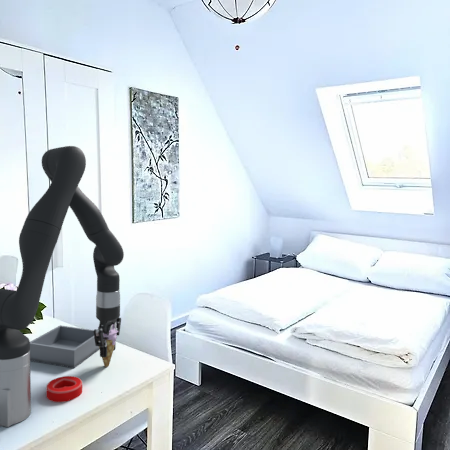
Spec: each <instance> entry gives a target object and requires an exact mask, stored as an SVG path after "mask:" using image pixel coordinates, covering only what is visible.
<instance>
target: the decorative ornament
mask: <svg viewBox="0 0 450 450" xmlns="http://www.w3.org/2000/svg"><path fill="white" fill-rule="evenodd" d="M45 388H46V392H45V393H46V399H48V401H50V402H54V403H65V402H71V401H73V400H75V399H77V398H79V397H80V396H81V395H82V393H83V380H82V379H81V378H80V377H77V376H71V375H64V376H60V377H57V378H56V377H55V378H54V379H52V380H51V381H49V382H48V383H47V384H46V387H45Z"/></svg>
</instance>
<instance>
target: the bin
mask: <svg viewBox="0 0 450 450" xmlns="http://www.w3.org/2000/svg"><path fill="white" fill-rule="evenodd" d="M94 330H95V329H90V328H89V329H88V328H83V327H82V328H80V327H73V326H67V325H61V324H60V325H58V326H56V327H54V328H53V329H51V330H48V331H47V332H46V333H43V334H42V335H39V336H37V337H36V338H34V339H33V340H29V341H30V362H34V363H35V362H36V363H41V364H47V365H54V366H59V367H63V368H64V367H66V368H71V369H75V368H76V367H79V366H80V365H81V364H82V363H84V362H85V361H86V360H87V359H89V358H90V357H92V356H93V355H94V354H96V353H97V352H98V351H100V349H99V346H96V345H95V339H94Z"/></svg>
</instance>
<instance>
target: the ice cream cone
mask: <svg viewBox="0 0 450 450" xmlns="http://www.w3.org/2000/svg"><path fill="white" fill-rule="evenodd" d="M98 328H99V326H98V327H97V329H98ZM117 332H119V331H116V330H115V328H114V327H113V324H112V330H111V332H110V334H109V335H107V334H103V338H104V337H109V339H108V340H107V357H105V358H104V357H101V359H102V362H103V365H104V367H106V368H107V367H109V366H110V363H111V359H112V357H113V354H114V351H115V350H114V345H115V341H116V340H117V339H116V333H117ZM98 342H99V341H98ZM104 342H105V339H104ZM99 350H100V347H99ZM113 350H114V351H113Z"/></svg>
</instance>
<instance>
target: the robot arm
mask: <svg viewBox="0 0 450 450" xmlns="http://www.w3.org/2000/svg"><path fill="white" fill-rule="evenodd" d="M86 165H87V159H86V155H85V153H84V152H83V150H82V149H81V148H80V147H78V146H75V145H65V146H59V147H55V148H50V149H48V150H46V151H45V152H44V153H43V155H42V157H41V168H42V169H43V172H44V173H45V175H46V177H47V178H48V179H49V181H50V185H49V186H48V188H47V190H46V191H45V192H44V194H43V195H42V196H41V197H40V199H39V200H38V201H37V202H36V203H35V204H34V205H33V207H32V208H31V210H30V211H28V214H27V216H26V217H25V221H24V222H23V225H22V228H21V231H20V233H19V236H18V246H19V252H20V256H21V258H20V259H21V262H22V263H21V264H22V272H21V275H20V279H19V282H18V283H19V284H18V286H17V288H16V290H13V289H6V288H0V427H6V428H9V427H11V426H13V425H16V424H18V423H21V422H23V421H25V420H26V419H27V418H29V417H30V415H31V413H32V412H31V411H32V396H31V395H32V392H31V389H32V388H31V387H32V386H31V381H32V380H31V361H30V341H31V340H30V338H29V337H27V335H25V334H24V333H23V332H21V330H25V329H26V328H28V327H29V326H30V324H31V323H32V322H33V320H34V318H35V317H36V314H37V311H38V308H39V303H40V302H41V301H40V300H41V296H42V291H43V289H44V288H43V287H44V283H45V279H46V274H47V272H48V269H49V265H50V262H51V259H52V257H53V253H54V251H55V248H56V245H57V242H58V240H59V238H60V237H59V236H60V234H61V231H62V229H63V225H64V221H65V218H66V216H67V213H68V210H69V208H70V209H71V210H72V212H73V214H74V215H75V217H76V219H77V221H78V223H79V224H80V226H81V228H82V230H83V232H84V234H85V235H86V237H87V239H88V240H89V241H90V242H91V243H93V244H94V245H95V246H94V248H93V253H92V254H93V255H92V256H93V257H92V258H93V265H94V269H95V274H96V297H95V317H96V319H97V320H98V321H99V324H98V327H99V328H98V327H97V329H93V330H94V339H95V345H96V346H99V347H100V349H99V357H100V358H102V357H104V358H105V357H107V340H108V339H109V337H104V338H103V334H107V335H109V334H110V332H111V330H112V324H113V327H114V328H115V330H116V331H119V332H117V333H116V340H117V339H118V337H119V336H120V333H121V326H122V325H121V323H122V317H120V316H121V294H120V293H121V291H120V275H119V273H118V271H117V270H116V269H115V266H119V265H120V264H121V263H122V262H123V260H124V255H125V254H124V253H125V252H124V249H123V246H122V245H121V243H120V242H119V239H117V237H116V236H115V234H114V233H112V231H111V230H110V228H109V226H108V224H107V221H106V220H105V218H104V215H103V214H102V212H101V210H100V209H99V208H98V206H97V205H96V204H95V203H94V202H93V201H92V200H91V199H90V198H89V197H88V196H87V195H86V194H85V193H84V192H83V191H82V189H80V187H79V185H80V182H81V180H82V178H83V175H84V174H85V171H86ZM104 339H105V342H104ZM98 341H99V342H98ZM116 343H117V342H116V341H115V345H114V350H113V352H114V351H115V350H116V345H117V344H116Z"/></svg>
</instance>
